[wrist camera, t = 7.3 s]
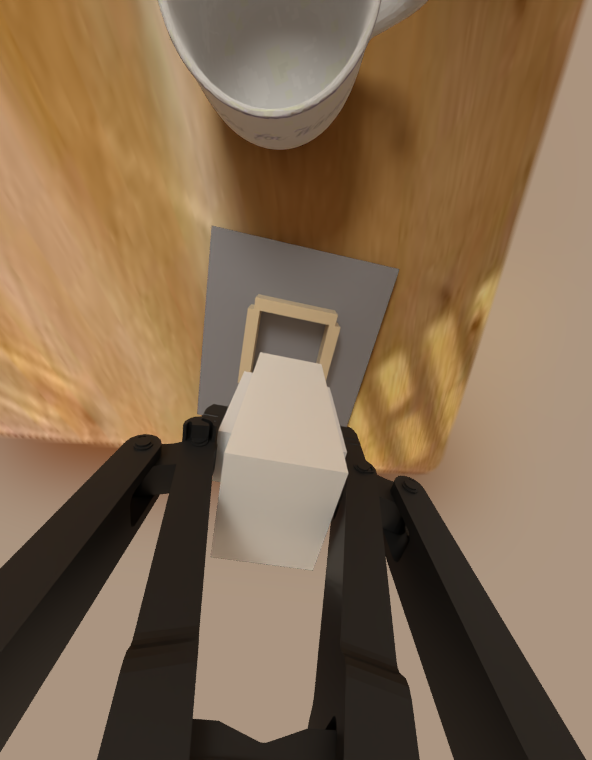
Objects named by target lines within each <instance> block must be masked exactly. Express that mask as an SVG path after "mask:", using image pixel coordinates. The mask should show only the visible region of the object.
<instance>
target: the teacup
mask: <svg viewBox="0 0 592 760" xmlns="http://www.w3.org/2000/svg"><path fill="white" fill-rule="evenodd" d="M427 1H428V0H158V3H159V6H160V10H161V13H162V16H163V19H164V22H165V25H166V28H167V30H168V33H169V35H170V38H171V40H172V42H173V44H174V46H175V48H176V50H177V52H178V54H179V56H180V57H181V59H182V61H183V62H184V64H185V65H186V67H187V68H188V70H189V71H190V72H191V74H192V75H193V76H194V77H195V79H196V80H197V82H198V84H199V85H200V87H201V89H202V91H203V92H204V94H205V95H206V97H207V99H208V100H209V102H210V103H211V105H212V106H213V108H214V109H215V110H216V112H217V113H218V114H219V116H220V117H221V118H222V119H223V121H224V122H225V123H226V124H227V125H228V126H229V127H230V128H231V129H232V130H233V131H234V132H236V133H237V134H238V135H239V136H241V137H242V138H244V139H245V140H247V141H249V142H251V143H253V144H255V145H257V146H260V147H264V148H267V149H275V150H284V149H291V148H296V147H299V146H301V145H304V144H306V143H308V142H310V141H311V140H313V139H315V138H316V137H317V136H319V135H320V134H321V133H322V132H323V131H324V130H325V129H326V128H328V127H329V125H330V124H331V123H332V122H333V120H334V119H335V118H336V117H337V115H338V114H339V112H340V111H341V109H342V108H343V106H344V104H345V102H346V100H347V98H348V96H349V94H350V92H351V90H352V87H353V85H354V82H355V80H356V77H357V74H358V71H359V68H360V65H361V62H362V59H363V56H364V52H365V49H366V47H367V45H368V42H369V40H370V39H371V38H373V37H374V36H376V35H378V34H380V33H382V32H384V31H386V30H387V29H389V28H391V27H392V26H394V25H396V24H397V23H399V22H401V21H402V20H404V19H406V18H407V17H409V16H410V15H412V14H413V13H414V12H416V11H417V10H418V9H420V8H421V7H422V6H423V5H424V4H425V3H426V2H427Z"/></svg>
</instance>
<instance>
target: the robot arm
mask: <svg viewBox="0 0 592 760" xmlns="http://www.w3.org/2000/svg"><path fill="white" fill-rule="evenodd" d="M252 374H253V373H251V372H246V371H244V373H243V375H242V378H241V380H240V382H239V384H238V387H237V389H236V391H235V394H234V396H233V398H232V400H231V403H230V405H229V407H228V406H223V405H217V404H212V405H211V406H209V407H208V408H206V410H205V412H204V414H203V415H202V417H193V418H190V419H188V420H186V421H185V423H184V424H183V439H182V442H179V443H174V444H162V443H161V440H160V439H159V438H158V437H156V436H153V435H147V434H144V435H137V436H135V437H132V438H130V439H129V440H127V441H126V442H125V443H124V444H123V445H122V446H121V447H120V448H119V449H118V450H117V451H116V452H115V453H114V454H113V455H112V456H111V457H110V458H109V459H108V460H107V461H106V462H105V463H104V464H103V465H102V466H101V467H100V468H99V469H98V470H97V471H96V472H95V473H94V474H93V475H92V476H91V477H90V479H88V480H87V482H85V483H84V484H83V486H82V487H81V488H80V489H79V490H78V491H77V492H76V493H75V494H74V495H73V496H72V497H71V498H70V499H69V500H68V501H67V502H66V503H65V504H64V505H63V506H62V507H61V508H60V509H59V510H58V511H57V512H56V513H55V514H54V515H53V516H52V517H51V518H50V519H49V520H48V521H47V522H46V523H45V524H44V525H43V526H42V527H41V528H40V529H39V530H38V531H37V532H36V533H35V534H34V535H33V536H32V537H31V538H30V539H29V540H28V541H27V542H26V543H25V544H24V545H23V546H22V548H20V549H19V550H18V551H17V552H16V553H15V554H14V555H13V556H12V557H11V558H10V560H8V561H7V562H6V563H5V564H4V565H3V566H2V567H1V568H0V752H1V750H2V749H3V747H4V745H5V744H6V742H7V741H8V739H9V737H10V736H11V734H12V732H13V731H14V729H15V728H16V726H17V724H18V723H19V721H20V720H21V718H22V716H23V715H24V713H25V711H26V710H27V708H28V707H29V705H30V703H31V702H32V700H33V699H34V697H35V695H36V694H37V692H38V690H39V688H40V687H41V686H42V684H43V682H44V681H45V679H46V678H47V676H48V674H49V672H50V671H51V670H52V668H53V666H54V665H55V663H56V661H57V660H58V658H59V657H60V655H61V653H62V652H63V650H64V649H65V647H66V645H67V644H68V642H69V640H70V639H71V637H72V636H73V634H74V632H75V631H76V629H77V628H78V626H79V624H80V622H81V621H82V620H83V618H84V616H85V615H86V613H87V611H88V610H89V608H90V607H91V605H92V603H93V602H94V600H95V599H96V597H97V595H98V594H99V592H100V591H101V589H102V587H103V586H104V584H105V582H106V580H107V579H108V578H109V576H110V574H111V573H112V571H113V570H114V568H115V566H116V565H117V563H118V561H119V560H120V558H121V557H122V555H123V553H124V552H125V550H126V549H127V547H128V545H129V544H130V542H131V540H132V539H133V537H134V536H135V534H136V532H137V531H138V529H139V528H140V526H141V524H142V523H143V521H144V519H145V518H146V516H147V515H148V513H149V511H150V510H151V508H152V507H153V505H154V503H155V502H156V500H157V499H158V497H159V495H160V494H167V493H169V496H168V501H167V504H166V509H165V512H164V517H163V520H162V525H161V529H160V533H159V537H158V541H157V545H156V549H155V553H154V557H153V561H152V565H151V569H150V573H149V577H148V581H147V585H146V589H145V593H144V597H143V601H142V605H141V609H140V613H139V617H138V621H137V625H136V629H135V633H134V636H133V641H132V643H131V646H130V647H129V648H128V650H127V652H126V655H125V657H124V660H123V663H122V667H121V670H120V674H119V677H118V681H117V685H116V689H115V693H114V697H113V701H112V704H111V709H110V712H109V716H108V720H107V724H106V727H105V731H104V735H103V739H102V743H101V747H100V750H99V754H98V758H97V760H420V759H419V752H418V745H417V736H416V729H415V721H414V713H413V706H412V699H411V695H410V689H409V685H408V683H407V680H406V678H405V677H404V676H402V675H401V674H400V673H399V670H398V668H397V662H396V652H395V643H394V633H393V625H392V615H391V605H390V595H389V587H388V576H387V567H386V559H387V562H388V565H389V568H390V571H391V574H392V577H393V580H394V583H395V586H396V589H397V592H398V595H399V598H400V601H401V604H402V607H403V610H404V613H405V616H406V619H407V622H408V625H409V628H410V630H411V633H412V636H413V639H414V642H415V645H416V648H417V651H418V654H419V657H420V660H421V663H422V666H423V669H424V672H425V675H426V678H427V681H428V684H429V687H430V690H431V693H432V696H433V699H434V702H435V705H436V707H437V711H438V714H439V717H440V719H441V722H442V725H443V728H444V731H445V734H446V737H447V740H448V743H449V746H450V749H451V752H452V755H453V757H454V760H586V759H585V757H584V755H583V754H582V752H581V750H580V749H579V747H578V745H577V744H576V742H575V740H574V739H573V737H572V735H571V734H570V732H569V730H568V729H567V727H566V725H565V724H564V722H563V720H562V719H561V717H560V715H559V714H558V712H557V710H556V709H555V707H554V705H553V703H552V702H551V700H550V698H549V697H548V695H547V693H546V692H545V690H544V688H543V687H542V685H541V683H540V682H539V680H538V678H537V677H536V675H535V673H534V672H533V670H532V669H531V667H530V665H529V663H528V662H527V660H526V658H525V657H524V655H523V653H522V652H521V650H520V648H519V647H518V645H517V644H516V642H515V640H514V638H513V637H512V635H511V633H510V632H509V630H508V628H507V627H506V625H505V623H504V622H503V620H502V618H501V617H500V615H499V613H498V612H497V610H496V608H495V607H494V605H493V603H492V602H491V600H490V598H489V597H488V595H487V593H486V591H485V590H484V588H483V586H482V585H481V583H480V581H479V580H478V578H477V576H476V575H475V573H474V572H473V570H472V568H471V566H470V565H469V563H468V562H467V560H466V558H465V556H464V555H463V553H462V551H461V550H460V548H459V546H458V545H457V543H456V541H455V540H454V538H453V536H452V535H451V533H450V531H449V530H448V528H447V526H446V525H445V523H444V521H443V520H442V518H441V516H440V515H439V513H438V511H437V510H436V508H435V506H434V505H433V503H432V501H431V500H430V498H429V497H428V495H427V493H426V491H425V490H424V488H423V487H422V486H421V485H420V484H419V483H418V482H417V481H415V480H414V479H412V478H410V477H406V476H398V477H396V479H395V480H394V482H393V481H390V480H387V479H385V478H383V477H380V476H378V475H377V473H376V470H375V468H374V467H373V466H372V465H371V464H370V463H368V462H367V461H366V460H365V457H364V454H363V451H362V448H361V446H360V442H359V439H358V437H357V434H356V433H355V432H354V430H353V429H352V428H350V427H344V426H340V424H339V420H338V417H337V413H336V409H335V405H334V402H333V398H332V394H331V390H330V387H327V389H328V393H329V397H330V401H331V405H332V409H333V413H334V417H335V421H336V425H337V429H338V433H339V437H340V441H341V445H342V449H343V453H344V457H345V461H346V465H347V469H348V476H347V478H346V481H345V484H344V487H343V489H342V492H341V495H340V498H339V500H338V503H337V506H336V509H335V511H334V514H333V517H332V520H331V526H330V537H329V547H328V558H327V569H326V579H325V589H324V599H323V610H322V620H321V630H320V640H319V651H318V661H317V672H316V682H315V692H314V700H313V706H312V711H311V715H310V719H309V725H308V729H305V730H302V731H299V732H297V733H294V734H291V735H288V736H285V737H282V738H279V739H276V740H273V741H270V742H267V743H260V742H258V741H256V740H254V739H252V738H250V737H248V736H247V735H245V734H243V733H241V732H239V731H237V730H235V729H233V728H231V727H229V726H227V725H225V724H224V723H222V722H220V721H213V720H202V719H193V706H194V695H195V683H196V669H197V658H198V645H199V627H200V615H201V614H200V613H201V603H202V591H203V579H204V567H205V555H206V543H207V532H208V519H209V508H210V496H211V484H212V481H217V482H221V474H222V467H223V459H224V452H225V450H226V447H227V444H228V441H229V438H230V436H231V433H232V430H233V427H234V424H235V422H236V419H237V416H238V413H239V411H240V408H241V405H242V402H243V399H244V397H245V394H246V391H247V388H248V385H249V383H250V380H251V377H252ZM212 476H213V479H212ZM385 556H386V558H385Z"/></svg>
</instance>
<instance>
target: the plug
mask: <svg viewBox="0 0 592 760" xmlns="http://www.w3.org/2000/svg"><path fill="white" fill-rule="evenodd" d="M347 476H348V469H347V465H346V461H345V457H344V453H343V449H342V445H341V441H340V437H339V433H338V429H337V425H336V421H335V417H334V413H333V409H332V405H331V401H330V397H329V393H328V389H327V385H326V381H325V377H324V373H323V368H322V364H318V363H313V362H308V361H303V360H298V359H292V358H287V357H282V356H277V355H272V354H267V353H262V352H260V355H259V357H258V360H257V363H256V366H255V369H254V371H253V374H252V377H251V380H250V383H249V385H248V388H247V391H246V394H245V397H244V399H243V402H242V405H241V408H240V411H239V413H238V416H237V419H236V422H235V424H234V427H233V430H232V433H231V436H230V438H229V441H228V444H227V447H226V450H225V452H224V459H223V467H222V474H221V482H220V490H219V497H218V505H217V513H216V520H215V528H214V535H213V543H212V550H211V557H213V558H221V559H228V560H236V561H244V562H251V563H259V564H266V565H274V566H283V567H289V568H297V569H305V570H312V571H313V569H314V566H315V564H316V561H317V558H318V555H319V553H320V550H321V547H322V544H323V542H324V539H325V536H326V533H327V530H328V528H329V525H330V522H331V520H332V517H333V514H334V511H335V509H336V506H337V503H338V500H339V498H340V495H341V492H342V489H343V487H344V484H345V481H346V478H347Z"/></svg>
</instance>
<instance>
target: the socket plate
mask: <svg viewBox="0 0 592 760" xmlns="http://www.w3.org/2000/svg"><path fill="white" fill-rule="evenodd" d="M398 272H399V269H396V268H392V267H388V266H383V265H379V264H375V263H370V262H366V261H362V260H358V259H353V258H349V257H345V256H340V255H336V254H332V253H327V252H323V251H319V250H315V249H310V248H306V247H302V246H297V245H293V244H289V243H284V242H280V241H276V240H272V239H267V238H263V237H259V236H254V235H250V234H246V233H241V232H237V231H233V230H229V229H224V228H220V227H216V226H212V229H211V242H210V255H209V268H208V281H207V294H206V307H205V320H204V333H203V346H202V359H201V372H200V385H199V398H198V411H197V414H200V415H203V414H204V412H205V410H206V408H208V407H209V406H211V405H212V404H217V405H223V406H228V407H229V405H230V403H231V400H232V398H233V396H234V394H235V391H236V389H237V387H238V384H239V382H240V380H241V378H242V375H243V373H244V371H246V372H251V373H253V371H254V369H255V366H256V363H257V360H258V357H259V355H260V352H262V353H267V354H272V355H277V356H282V357H287V358H292V359H298V360H303V361H308V362H313V363H318V364H322V368H323V373H324V377H325V381H326V385H327V387H330V390H331V394H332V398H333V402H334V405H335V409H336V413H337V417H338V420H339V424H340V426H344V427H347V424H348V421H349V418H350V415H351V412H352V409H353V406H354V403H355V401H356V398H357V395H358V392H359V389H360V386H361V383H362V380H363V377H364V374H365V371H366V368H367V365H368V362H369V359H370V356H371V353H372V350H373V347H374V344H375V341H376V338H377V335H378V332H379V329H380V326H381V323H382V320H383V317H384V314H385V311H386V308H387V305H388V302H389V299H390V296H391V293H392V290H393V287H394V284H395V281H396V278H397V275H398Z"/></svg>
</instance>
